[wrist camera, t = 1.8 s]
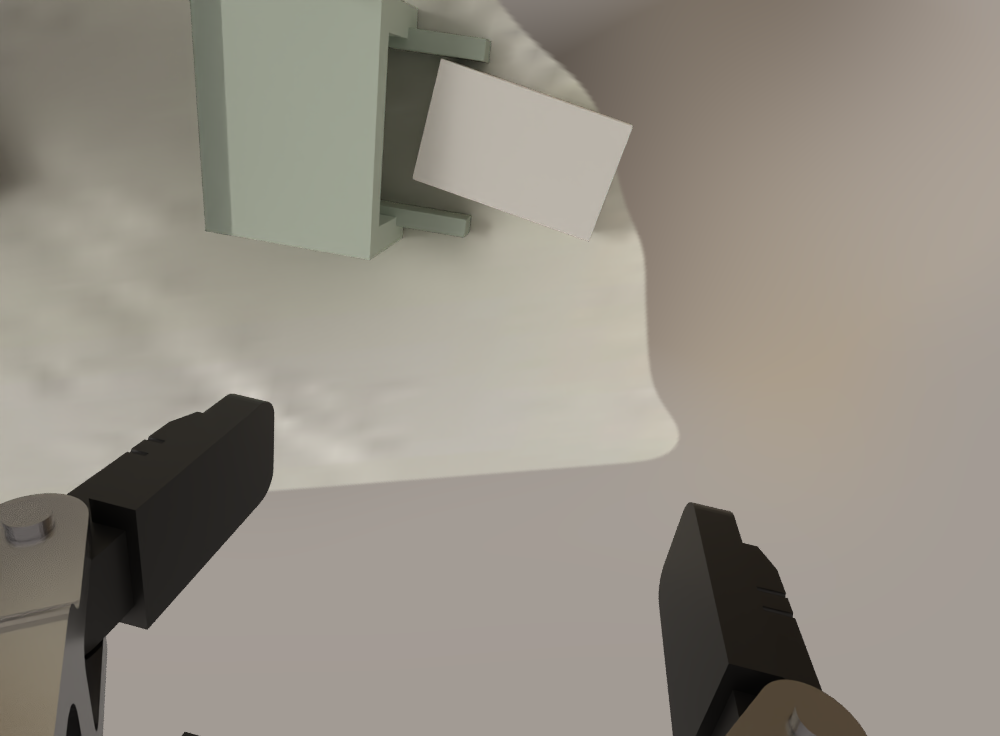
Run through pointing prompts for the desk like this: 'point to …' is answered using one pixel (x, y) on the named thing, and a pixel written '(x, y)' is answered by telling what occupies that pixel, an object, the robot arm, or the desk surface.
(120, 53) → the desk surface
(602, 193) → the cover plate
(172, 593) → the robot arm
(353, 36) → the shelf
